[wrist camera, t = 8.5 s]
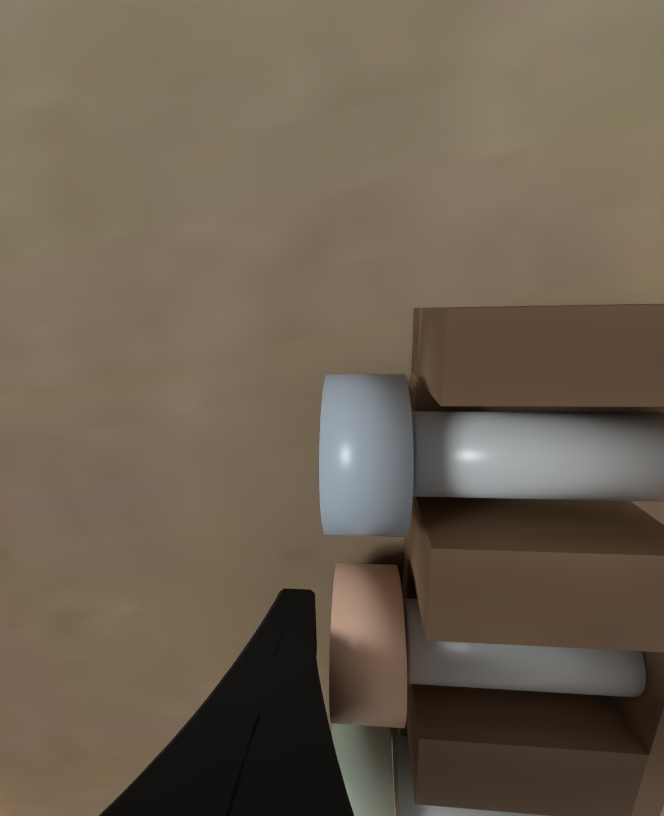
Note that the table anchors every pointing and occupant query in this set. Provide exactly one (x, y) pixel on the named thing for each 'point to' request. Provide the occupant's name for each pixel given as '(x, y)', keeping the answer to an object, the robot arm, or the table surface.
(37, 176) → the table surface
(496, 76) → the table surface
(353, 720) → the knob clay
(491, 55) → the table surface
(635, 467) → the knob slate
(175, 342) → the table surface
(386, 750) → the knob sage
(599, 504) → the mount
